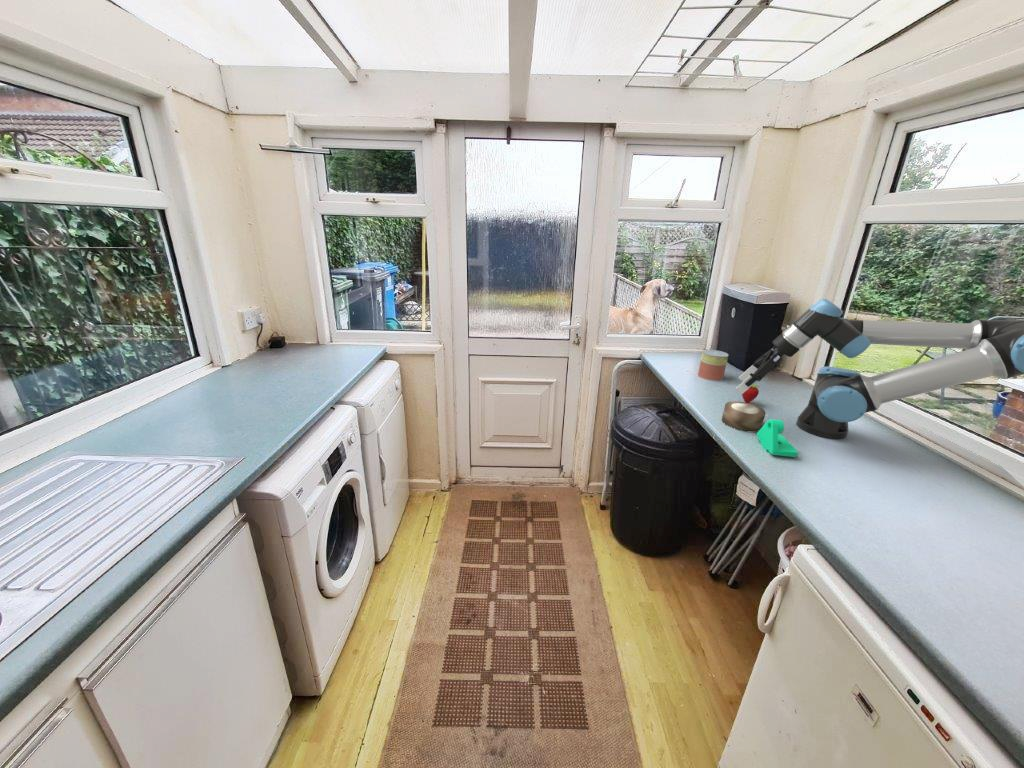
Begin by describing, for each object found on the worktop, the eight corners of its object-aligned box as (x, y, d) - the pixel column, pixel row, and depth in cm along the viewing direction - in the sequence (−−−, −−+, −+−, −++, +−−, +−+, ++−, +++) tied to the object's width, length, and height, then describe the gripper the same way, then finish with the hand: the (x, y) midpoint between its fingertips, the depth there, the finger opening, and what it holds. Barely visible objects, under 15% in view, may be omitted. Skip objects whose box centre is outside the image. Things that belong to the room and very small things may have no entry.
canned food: (727, 381, 195) (733, 357, 191) (703, 380, 195) (708, 356, 191) (716, 373, 206) (722, 350, 201) (693, 372, 206) (698, 349, 201)
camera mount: (796, 460, 130) (806, 430, 126) (770, 457, 131) (779, 428, 127) (779, 441, 141) (787, 414, 137) (755, 439, 142) (763, 412, 138)
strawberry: (749, 400, 174) (755, 377, 171) (758, 407, 167) (764, 384, 164) (735, 399, 175) (740, 376, 171) (743, 406, 168) (749, 383, 164)
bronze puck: (761, 421, 155) (765, 406, 153) (761, 435, 144) (766, 419, 142) (722, 413, 161) (726, 398, 159) (720, 425, 150) (724, 410, 148)
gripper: (780, 327, 147) (734, 369, 159) (781, 341, 127) (728, 388, 138) (799, 340, 145) (750, 382, 157) (803, 357, 125) (747, 404, 137)
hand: (740, 385), depth 148 cm, fingers open, 13 cm apart
